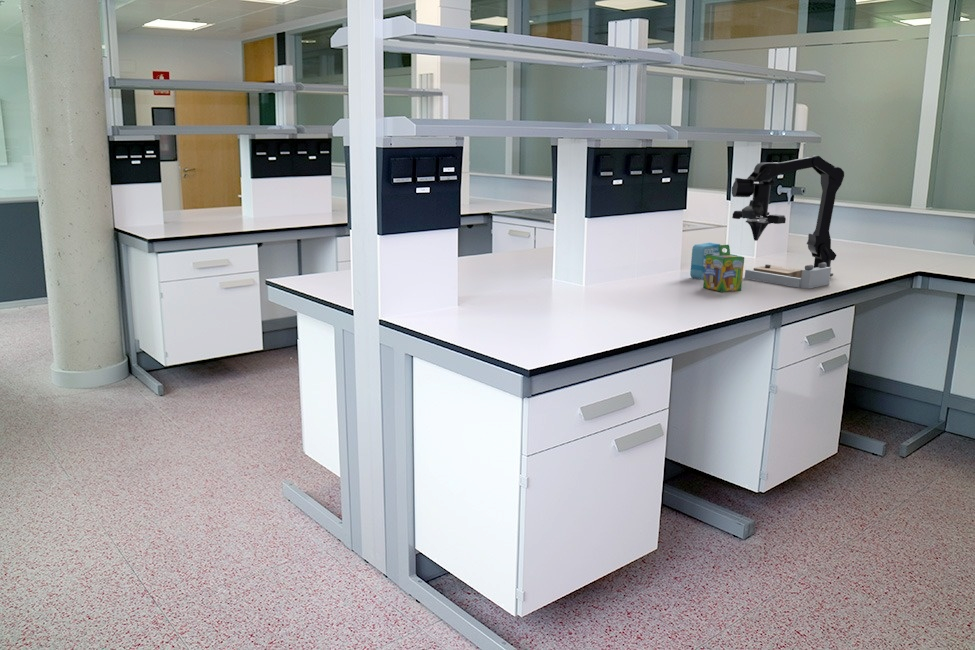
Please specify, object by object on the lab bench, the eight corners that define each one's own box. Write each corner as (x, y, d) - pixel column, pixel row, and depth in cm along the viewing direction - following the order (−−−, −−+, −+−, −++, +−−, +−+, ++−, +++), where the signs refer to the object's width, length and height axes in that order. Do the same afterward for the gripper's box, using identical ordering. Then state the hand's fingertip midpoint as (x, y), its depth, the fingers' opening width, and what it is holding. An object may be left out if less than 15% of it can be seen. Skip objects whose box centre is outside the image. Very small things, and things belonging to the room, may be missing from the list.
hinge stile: (820, 282, 280) (823, 261, 278) (829, 284, 278) (831, 262, 276) (800, 287, 272) (802, 265, 270) (808, 288, 269) (811, 266, 268)
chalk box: (721, 292, 259) (725, 247, 256) (702, 287, 267) (705, 244, 264) (742, 290, 264) (746, 246, 260) (722, 285, 271) (726, 242, 268)
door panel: (767, 275, 295) (769, 262, 294) (801, 281, 286) (802, 267, 284) (752, 279, 288) (753, 265, 286) (786, 284, 278) (787, 270, 277)
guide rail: (747, 277, 288) (747, 269, 287) (801, 287, 272) (802, 278, 271) (744, 278, 287) (745, 269, 286) (798, 287, 271) (799, 278, 270)
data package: (700, 280, 281) (703, 246, 278) (689, 278, 284) (692, 244, 282) (718, 276, 289) (722, 243, 286) (708, 274, 292) (711, 242, 289)
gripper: (726, 196, 291) (721, 238, 294) (772, 200, 277) (766, 245, 281) (743, 195, 298) (738, 236, 301) (788, 200, 284) (783, 243, 288)
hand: (755, 240), depth 293 cm, fingers closed
